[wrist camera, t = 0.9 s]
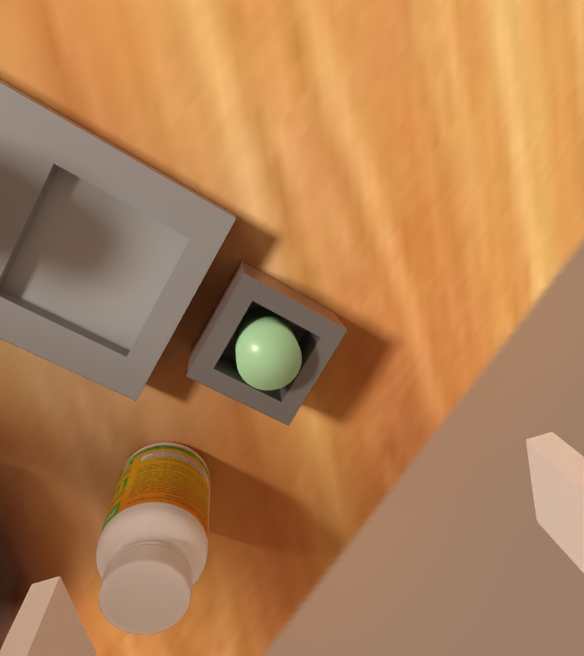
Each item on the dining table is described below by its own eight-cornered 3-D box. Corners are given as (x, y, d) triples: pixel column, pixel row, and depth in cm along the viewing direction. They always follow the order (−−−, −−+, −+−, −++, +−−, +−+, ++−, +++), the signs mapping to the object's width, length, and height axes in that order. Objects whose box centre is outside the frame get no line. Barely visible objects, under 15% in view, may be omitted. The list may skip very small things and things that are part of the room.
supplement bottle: (122, 436, 32) (81, 545, 22) (214, 441, 32) (211, 548, 23) (119, 515, 33) (79, 649, 24) (207, 518, 34) (201, 647, 25)
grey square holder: (190, 351, 31) (186, 376, 27) (241, 260, 30) (244, 273, 26) (280, 395, 32) (288, 425, 28) (332, 310, 31) (347, 329, 27)
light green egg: (224, 347, 30) (224, 372, 26) (252, 298, 29) (256, 316, 25) (273, 372, 31) (281, 400, 27) (301, 325, 30) (313, 347, 26)
